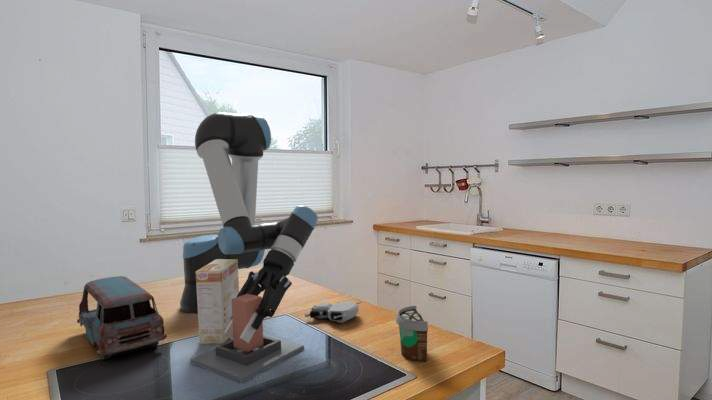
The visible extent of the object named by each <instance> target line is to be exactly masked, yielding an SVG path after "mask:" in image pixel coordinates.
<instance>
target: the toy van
mask: <svg viewBox="0 0 712 400" xmlns="http://www.w3.org/2000/svg"><path fill="white" fill-rule="evenodd" d="M89 295H90V296H91V297H92V298H93V299H94V300H95V301H96V302H97V303H96V308H95V309H91V310H89V302H88V301H89V299H88V296H89ZM81 298H82V299H81V301H80V303H79V305H78V306H79V308H78V310H79V311H78V319H77V320H76V322H77V324H79V326H80V327H81V328H83V327H84V328H85V336H86V337H87V339H88V340H89V341H90V343H91V345H92V346H93V347H94V348H96V347H98V349H97V351H96V353H97V354H98V355H100V358H101V360H103V361H104V360H108V359H109V360H110V359H111V355H113V354H118V353H123V352H125V351H130V350H131V351H132V350H135V349H138V348H141V347H145V346H150V347H151V346H152V348H153V346H154V347H156V346H158V345H159V343H160V342H161V341H163V340H165V339H166V338H167V337H168V333H167V332H166V329H165V325H164V318H163V316H162V315H161V314H160V313H159V312H158V308H157V304H156V301H155V298H154V296H153V295H152V294H151V293H150V292H148V291H147V290H146V289H144V288H143V287H141V286H140V285H138V284H137V283H135V282H134V281H132V280H131V279H129V278H128V277H127V276H124V275H120V276H118V275H117V276H109V277H104V278H99V279H93V280H91V281H88V282H86V283H85V284H84V287H83V293H82V297H81ZM151 303H152V304H151Z"/></svg>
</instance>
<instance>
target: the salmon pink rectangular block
mask: <svg viewBox="0 0 712 400" xmlns="http://www.w3.org/2000/svg"><path fill="white" fill-rule="evenodd" d="M262 297H263V296H260V295H258V296H256V295H251V294H245V295H242V296H239V297H236V298H233V299H231V300H232V322H233V338H232V340H233V345H234V348H237V349H240V350H243V351H246V352H249V351H251V350H253V349H255V348H257V347H259V346H261V345H263V334H264V329H263V328H264V325H263V321H264V320H263V321H262V323H261V325H260V327H259V328H258V329H257V330H256V331H255V333H254V334H253V336H252V338H251V340H250V342H249V343H246V342H245V341H243V340H242V339H241V338H240V336H241V334H242V333H243V331H244V329H245V327H246V325H247V324H248V322H249V320H250V319H251V317H252V315H253V313H257V312H256V310H258V308H259V305H260V302H261V300H262ZM257 314H258V313H257Z"/></svg>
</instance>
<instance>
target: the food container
mask: <svg viewBox="0 0 712 400" xmlns="http://www.w3.org/2000/svg"><path fill="white" fill-rule="evenodd" d="M395 323H396V324H397V325H398V329H399V340H400V350H401V355H402V357H403V358H404V359H406V360H408V361H412V362H416V363H417V362H418V363H427V362H428V360H427V359H428V355H427V354H428V332H429V325H428V321H426V320H425V321H424V318H423V317H422V315H421V314H420V313H419V311H418V310H417V305H410V306H404V307H403V308H401V309H399V310H398V312H397V314H396V319H395Z"/></svg>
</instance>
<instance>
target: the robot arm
mask: <svg viewBox="0 0 712 400" xmlns="http://www.w3.org/2000/svg"><path fill="white" fill-rule="evenodd" d="M271 144H272V133H271V128H270V126H269V123H268V121H267V120H266V119H265V117H264V116H262V115H256V114H252V113H250V114H249V113H234V112H233V113H232V112H214V113H212V114H209V115H208V116H206V117H204V119H203V120H202V121H201V122H200V124H199V125H198V127H197V129H196V132H195V137H194V146H195V150H196V154H197V155H198V157H199V158H200V159H202V161H203V165H204V168H205V170H206V175H207V177H208V181H209V184H210V187H211V191H212V194H213V197H214V201H215V204H216V207H217V211H218V214H219V216H220V220H221V223H222V226H223V227H221V228H220V229H219V231H218V232H217V233H218V234H207V235H200V236H196V237H192V238H190V239H188V240H186V241H185V242H184V244H183V247H182V248H183V249H182V258H183V273H184V275H183V277H184V286H183V287H184V288H183V291H182V294H181V298H180V301H179V306H180V307H179V308H181V309H182V310H183V312H184V311H187V312H186V313H190V312H194V314H196V313H197V314H198V306H197V288H196V273H195V272H196V271H198V270H199V269H201V268H203V267H204V266H206V265H208V264H209V263H211V262H212V261H214V260H216V259H238V270H243V269H249V268H251V267H256V266H258V265H259V264H261V262H262V261H263V262H262V263H263V265H262V267H261V268H260V269H259V270H258V272H254V271H250V272H248V276H247V278H246V280H245V282H244V283H243V286H242V287H241V289H239V293H238V295H237V297H239V296H242V295H245V294H251V295H256V296H260V294H261V293H263V295H262V296H261V297H262V300H261V302H260V305H259V308H258V310H256V312H257V313H258V314H257V313H253V315H252V317H251V319H250V320H249V322H248V324H247V325H246V327H245V329H244V331H243V333H242V334H241V336H240V338H241V339H242V340H243V341H245V342H246V343H249V342H250V340H251V338H252V336H253V334H254V333H255V331H256V330H257V329H258V328H259V327H260V325H261V323H262V321H264V320H265V319H266V318H267V317H270V318H272V317H273V316H274V315H275V313H276V312H277V309H278V307H279V306H280V303H281V302H282V300H283V298H284V296H285V295H286V292H287V291H288V289H289V288H291V286H292V281H291V280H290V279H289V278H288V276H289V274H290V273H291V271H292V270H293V267H294V266H295V262H296V261H297V259H298V258H299V256H300V255H301V252H302V251H303V249H304V248H305V245H306V243H307V242H308V240H309V238H310V237H311V235H312V233H313V231H314V230H315V228H316V226H317V223H318V220H319V218H318V214H317V213H316V212H315V210H313V209H312V208H310V207H309V206H305V205H296V206H295V207H294V209H293V210H292V211H291V213H290V216H288V217H286V218H284V219H282V220H280V221H274V222H265V223H256V213H257V212H256V209H257V192H258V191H257V189H258V173H259V172H258V171H259V170H258V169H259V162H260V160H261V159H262V158H264V157H263V156H264V151H266V150H269V148H270V146H271ZM230 158H231V159H230ZM265 250H268V252H267V254H266V256H265V252H266V251H265ZM264 256H265V257H264ZM181 309H180V310H181ZM182 310H181V311H182ZM224 334H226V335H227V336H228V337H229V339H233V322H232V317H231V319H230V323H229V324H228V326H227V328H226V329H225V331H224Z"/></svg>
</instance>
